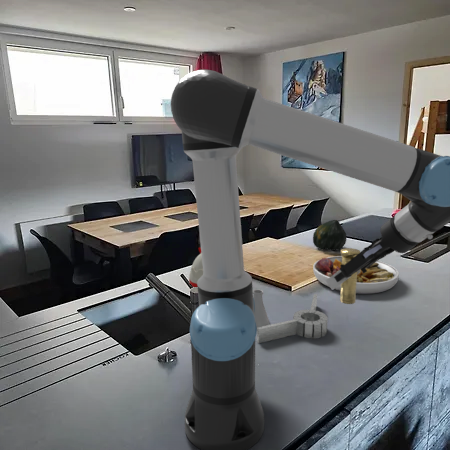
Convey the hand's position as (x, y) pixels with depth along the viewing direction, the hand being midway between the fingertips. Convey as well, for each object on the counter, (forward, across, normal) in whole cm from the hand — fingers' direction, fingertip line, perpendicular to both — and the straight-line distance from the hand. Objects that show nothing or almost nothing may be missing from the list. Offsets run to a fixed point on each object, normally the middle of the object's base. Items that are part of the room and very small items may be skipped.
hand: (334, 282), depth 100 cm
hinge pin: (0, 0, -5) cm, 5 cm away
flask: (+28, -5, +3) cm, 28 cm away
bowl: (+27, +46, +2) cm, 53 cm away
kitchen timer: (+53, +6, +28) cm, 60 cm away
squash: (+48, +74, +23) cm, 91 cm away
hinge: (+22, +3, -2) cm, 22 cm away
